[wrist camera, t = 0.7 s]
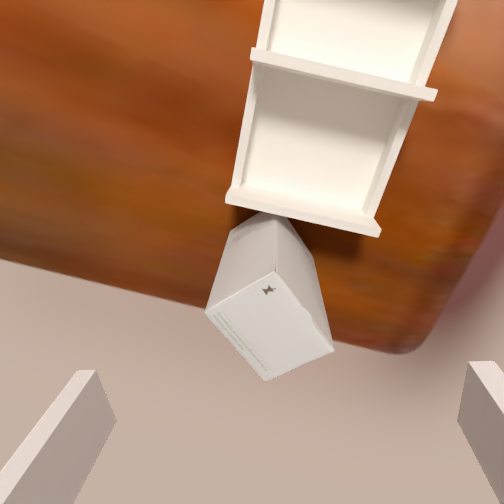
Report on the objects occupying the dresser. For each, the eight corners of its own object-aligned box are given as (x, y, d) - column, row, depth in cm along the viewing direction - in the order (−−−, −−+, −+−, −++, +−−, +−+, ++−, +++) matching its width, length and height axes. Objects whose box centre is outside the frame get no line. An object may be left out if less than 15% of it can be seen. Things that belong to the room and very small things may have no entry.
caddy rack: (234, 185, 35) (224, 202, 30) (285, -91, 26) (284, -141, 20) (363, 214, 36) (378, 237, 30) (462, -50, 26) (510, -89, 20)
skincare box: (229, 229, 38) (195, 310, 24) (279, 198, 36) (275, 266, 22) (269, 284, 40) (261, 387, 26) (318, 258, 38) (338, 355, 24)
